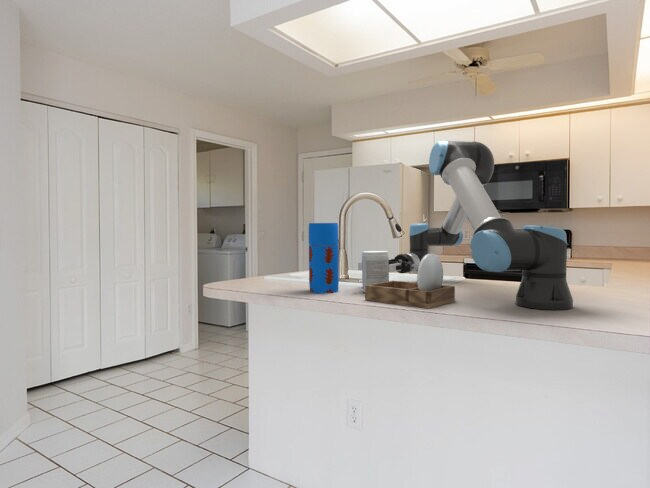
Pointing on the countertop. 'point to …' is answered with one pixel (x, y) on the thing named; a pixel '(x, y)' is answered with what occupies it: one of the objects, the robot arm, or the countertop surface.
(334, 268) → the thermos
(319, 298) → the countertop surface
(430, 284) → the plate
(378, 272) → the supplement tub
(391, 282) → the rack
